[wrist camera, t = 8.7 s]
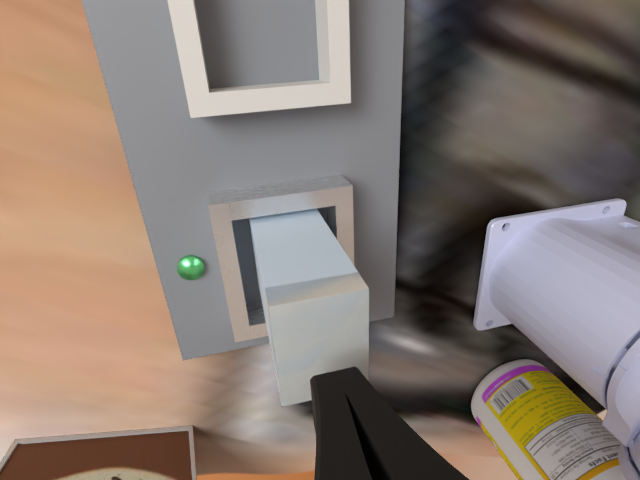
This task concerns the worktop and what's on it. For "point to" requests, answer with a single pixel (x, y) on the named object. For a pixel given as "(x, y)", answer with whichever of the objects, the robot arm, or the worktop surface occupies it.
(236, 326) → the port
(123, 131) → the panel
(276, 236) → the plug
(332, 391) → the robot arm
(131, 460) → the food container
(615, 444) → the supplement bottle
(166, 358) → the worktop surface
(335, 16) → the frame
